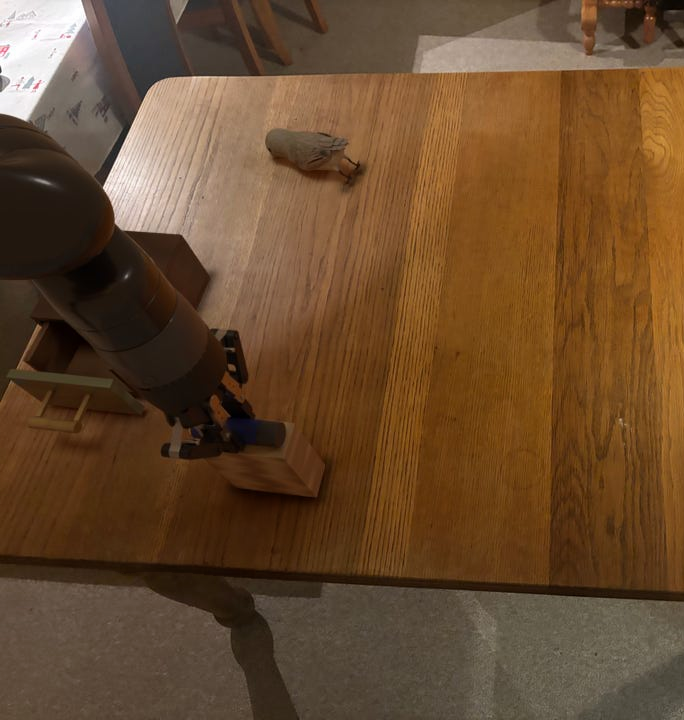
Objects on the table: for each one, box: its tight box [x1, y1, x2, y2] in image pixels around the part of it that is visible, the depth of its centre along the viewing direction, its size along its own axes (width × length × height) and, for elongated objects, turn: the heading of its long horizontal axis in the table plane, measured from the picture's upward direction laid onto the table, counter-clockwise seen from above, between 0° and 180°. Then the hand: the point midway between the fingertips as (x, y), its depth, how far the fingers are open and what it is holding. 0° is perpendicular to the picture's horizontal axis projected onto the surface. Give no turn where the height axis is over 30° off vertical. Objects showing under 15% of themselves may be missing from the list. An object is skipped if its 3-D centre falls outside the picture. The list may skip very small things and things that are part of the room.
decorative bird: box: [264, 127, 361, 187], centre depth 101 cm, size 5×16×8 cm, turn 67°
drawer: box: [6, 321, 145, 434], centre depth 83 cm, size 18×13×7 cm
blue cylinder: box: [189, 415, 286, 448], centre depth 67 cm, size 9×3×3 cm, turn 82°
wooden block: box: [194, 418, 326, 498], centre depth 73 cm, size 10×4×12 cm, turn 82°
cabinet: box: [28, 229, 211, 328], centre depth 88 cm, size 15×15×9 cm
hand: (240, 432), depth 67 cm, fingers closed on blue cylinder, 2 cm apart
